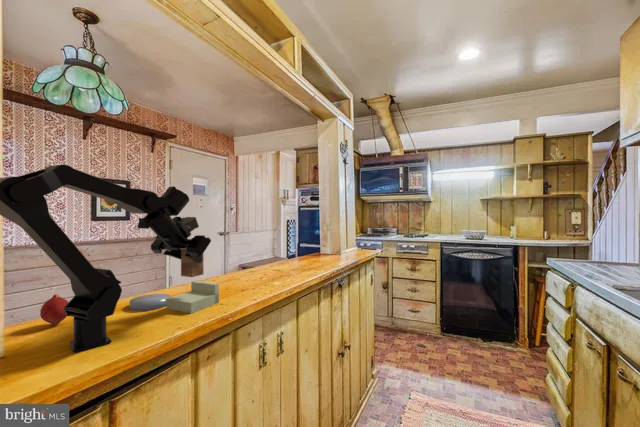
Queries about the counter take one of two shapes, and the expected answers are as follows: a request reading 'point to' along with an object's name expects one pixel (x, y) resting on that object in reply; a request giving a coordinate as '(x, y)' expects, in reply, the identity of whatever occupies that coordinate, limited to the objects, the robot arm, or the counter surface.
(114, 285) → the robot arm
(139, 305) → the disc
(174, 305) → the ledge
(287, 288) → the counter surface
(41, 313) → the onion
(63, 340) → the counter surface
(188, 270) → the walnut block
